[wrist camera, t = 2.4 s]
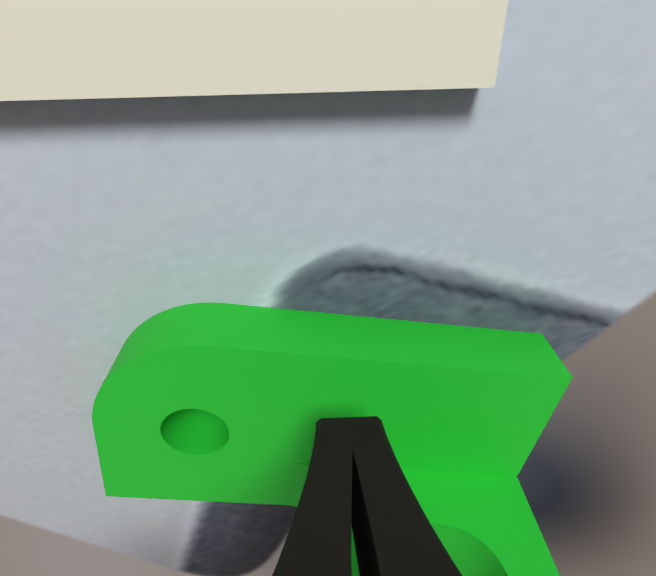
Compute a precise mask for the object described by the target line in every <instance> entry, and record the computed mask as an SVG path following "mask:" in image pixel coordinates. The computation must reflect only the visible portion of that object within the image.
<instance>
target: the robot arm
mask: <svg viewBox="0 0 656 576" xmlns="http://www.w3.org/2000/svg"><path fill="white" fill-rule="evenodd" d="M351 530H352V531H353V538H354V544H355V551H356V557H357V564H358V570H359V576H462V574H461V573H460V571H459V570H458V568H457V566H456V565H455V563H454V562H453V560H452V559H451V557H450V555H449V554H448V552H447V550H446V549H445V547H444V546H443V544H442V542H441V541H440V539H439V537H438V536H437V534H436V532H435V531H434V529H433V527H432V525H431V524H430V522H429V520H428V519H427V517H426V515H425V513H424V511H423V509H422V508H421V506H420V504H419V502H418V500H417V498H416V496H415V495H414V493H413V491H412V489H411V487H410V485H409V483H408V481H407V479H406V477H405V475H404V473H403V471H402V469H401V467H400V465H399V463H398V460H397V458H396V456H395V454H394V452H393V449H392V447H391V445H390V442H389V440H388V437H387V434H386V432H385V429H384V426H383V423H382V420H381V419H380V418H378V417H377V416H370V417H343V418H321V419H319V420H318V421H317V422H316V429H315V438H314V445H313V450H312V455H311V460H310V464H309V468H308V472H307V476H306V480H305V483H304V487H303V490H302V493H301V497H300V500H299V503H298V507H297V510H296V513H295V516H294V519H293V522H292V525H291V528H290V530H289V533H288V536H287V539H286V541H285V544H284V547H283V550H282V552H281V555H280V558H279V560H278V563H277V566H276V568H275V570H274V573H273V576H352V568H351Z"/></svg>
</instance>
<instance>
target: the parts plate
mask: <svg viewBox="0 0 656 576" xmlns="http://www.w3.org/2000/svg"><path fill="white" fill-rule="evenodd" d="M507 6H508V0H0V101H25V100H61V99H98V98H135V97H171V96H208V95H244V94H281V93H318V92H354V91H391V90H428V89H464V88H494V87H495V81H496V75H497V68H498V62H499V56H500V50H501V43H502V37H503V31H504V24H505V18H506V12H507Z"/></svg>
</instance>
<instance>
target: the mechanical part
mask: <svg viewBox="0 0 656 576" xmlns="http://www.w3.org/2000/svg"><path fill="white" fill-rule="evenodd" d="M571 379H572V376H571V375H570V373H569V372H568V370H567V369H566V367H565V366H564V364H563V363H562V362H561V360H560V359H559V357H558V356H557V354H556V353H555V352H554V350H553V349H552V347H551V346H550V344H549V343H548V341H547V340H546V339H545V337H544V336H543V334H539V333H529V332H518V331H508V330H497V329H487V328H476V327H466V326H455V325H445V324H435V323H424V322H414V321H403V320H393V319H382V318H372V317H361V316H351V315H341V314H330V313H320V312H309V311H299V310H288V309H278V308H267V307H257V306H247V305H236V304H226V303H196V304H188V305H183V306H178V307H175V308H172V309H168V310H166V311H163V312H161V313H159V314H156V315H155V316H153V317H151V318H149V319H148V320H146V321H145V322H144V323H142V324H141V325H140V326H138V327H137V328H136V329H135V330H134V331H133V332H132V334H131V335H130V336H129V337H128V339H127V340H126V342H125V343H124V345H123V347H122V349H121V351H120V353H119V354H118V356H117V358H116V360H115V362H114V364H113V366H112V367H111V369H110V371H109V373H108V375H107V377H106V379H105V380H104V382H103V384H102V386H101V388H100V390H99V392H98V394H97V396H96V399H95V401H94V406H93V414H92V420H93V428H94V433H95V439H96V444H97V449H98V455H99V460H100V466H101V471H102V476H103V482H104V487H105V493H106V496H117V497H136V498H156V499H175V500H195V501H214V502H233V503H253V504H272V505H289V506H294V507H298V503H299V500H300V497H301V493H302V490H303V487H304V483H305V480H306V476H307V472H308V468H309V464H310V460H311V455H312V450H313V445H314V438H315V429H316V422H317V421H318V420H319V419H321V418H343V417H370V416H377V417H378V418H380V419H381V420H382V423H383V426H384V429H385V432H386V434H387V437H388V440H389V442H390V445H391V447H392V449H393V452H394V454H395V456H396V458H397V460H398V463H399V465H400V467H401V469H402V471H403V473H404V475H405V477H406V479H407V481H408V483H409V485H410V487H411V489H412V491H413V493H414V495H415V496H416V498H417V500H418V502H419V504H420V506H421V508H422V509H423V511H424V513H425V515H426V517H427V519H428V520H429V522H430V524H431V525H432V527H433V529H434V531H435V532H436V534H437V536H438V537H439V539H440V541H441V542H442V544H443V546H444V547H445V549H446V550H447V552H448V554H449V555H450V557H451V559H452V560H453V562H454V563H455V565H456V566H457V568H458V570H459V571H460V573H461V574H462V576H559V573H558V571H557V568H556V566H555V564H554V561H553V559H552V557H551V555H550V552H549V550H548V548H547V546H546V543H545V541H544V538H543V536H542V534H541V532H540V529H539V527H538V525H537V522H536V520H535V518H534V515H533V513H532V511H531V508H530V506H529V504H528V502H527V499H526V497H525V495H524V493H523V490H522V488H521V485H520V483H519V481H518V478H517V476H518V474H519V472H520V470H521V468H522V467H523V465H524V463H525V461H526V459H527V458H528V456H529V454H530V452H531V451H532V449H533V447H534V445H535V443H536V442H537V440H538V438H539V436H540V435H541V433H542V431H543V429H544V427H545V426H546V424H547V422H548V420H549V419H550V417H551V415H552V413H553V411H554V409H555V408H556V406H557V404H558V402H559V400H560V399H561V397H562V395H563V394H564V392H565V390H566V388H567V386H568V385H569V383H570V381H571ZM351 568H352V576H359V570H358V564H357V557H356V551H355V544H354V538H353V531H352V530H351Z"/></svg>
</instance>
